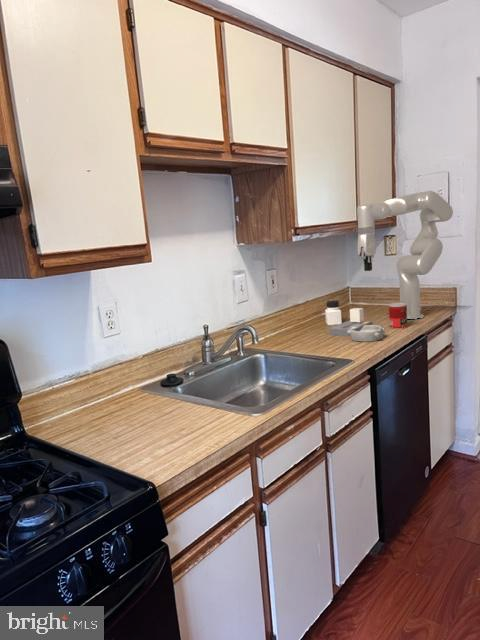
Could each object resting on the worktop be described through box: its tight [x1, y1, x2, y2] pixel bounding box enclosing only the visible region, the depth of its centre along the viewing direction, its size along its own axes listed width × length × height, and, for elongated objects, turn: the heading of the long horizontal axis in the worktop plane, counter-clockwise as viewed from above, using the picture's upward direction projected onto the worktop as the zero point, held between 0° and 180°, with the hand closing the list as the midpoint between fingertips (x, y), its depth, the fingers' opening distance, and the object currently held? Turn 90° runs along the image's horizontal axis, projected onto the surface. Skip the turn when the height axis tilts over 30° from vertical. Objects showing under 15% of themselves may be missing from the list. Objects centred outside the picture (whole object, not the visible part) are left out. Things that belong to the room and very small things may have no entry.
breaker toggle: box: [349, 307, 365, 322], centre depth 227 cm, size 4×5×6 cm
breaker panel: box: [328, 319, 374, 337], centre depth 223 cm, size 20×12×3 cm, turn 139°
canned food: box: [388, 302, 408, 329], centre depth 221 cm, size 8×8×11 cm
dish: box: [347, 324, 386, 342], centre depth 205 cm, size 14×14×5 cm
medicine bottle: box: [324, 299, 343, 326], centre depth 243 cm, size 7×7×12 cm
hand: (368, 270), depth 225 cm, fingers closed
